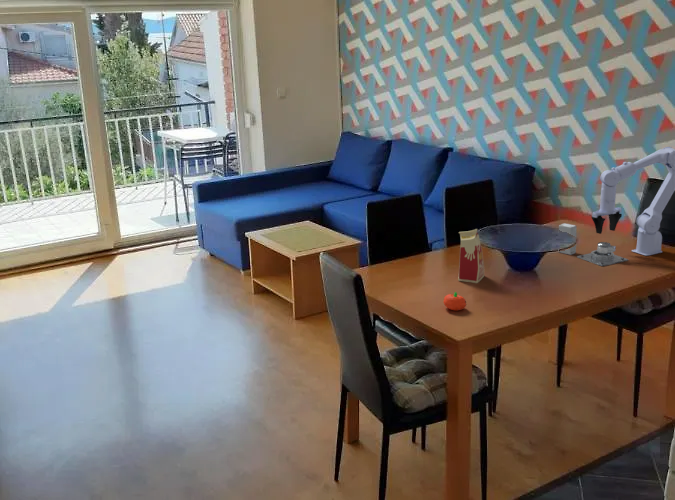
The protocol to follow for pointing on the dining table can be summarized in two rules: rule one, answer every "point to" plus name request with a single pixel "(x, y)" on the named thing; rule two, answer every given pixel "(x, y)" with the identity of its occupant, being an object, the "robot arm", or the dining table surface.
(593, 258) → the duct flange
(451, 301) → the pumpkin
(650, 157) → the robot arm
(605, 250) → the cylinder with square knob
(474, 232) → the milk carton
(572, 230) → the skincare box
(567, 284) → the dining table surface
